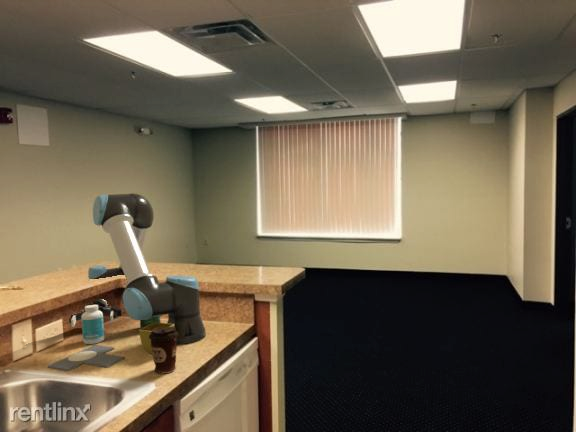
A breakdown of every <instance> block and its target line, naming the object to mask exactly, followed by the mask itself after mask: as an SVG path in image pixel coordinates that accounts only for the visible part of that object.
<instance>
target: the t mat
mask: <svg viewBox="0 0 576 432" xmlns="http://www.w3.org/2000/svg"><path fill="white" fill-rule="evenodd" d="M113 350H115V347H114V346H107V345H101V344H92V345H90V346H89V347H87V348H84V349H82V350H79V351H77V352H75V353H72V354H71V355H68V356H66V357H64V358H62V359H59V360H57V361H54V362H53V363H50V364H48V365H47V368H49V369H54V370H55V369H56V370H61V371H67V372H69V371H71V370H74V369H75V368H78V367H80V366H82V365H89V366H96V367H101V368H109V367H111V366H112V365H113V366H114V365H115V364H117V363H119V362H120V361H122V360H124V359H125V358H126V357H125V356H124V355H123V356H122V355H115V354H108V352H112V351H113Z"/></svg>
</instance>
